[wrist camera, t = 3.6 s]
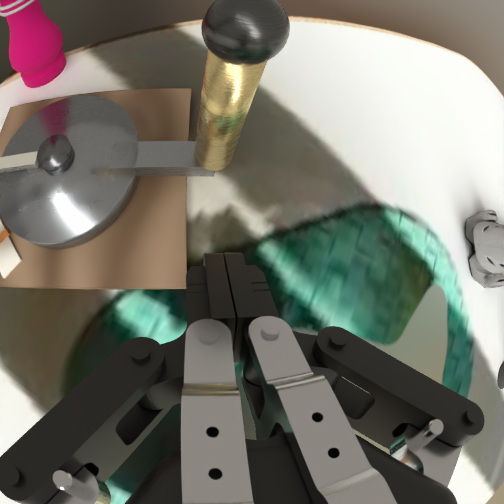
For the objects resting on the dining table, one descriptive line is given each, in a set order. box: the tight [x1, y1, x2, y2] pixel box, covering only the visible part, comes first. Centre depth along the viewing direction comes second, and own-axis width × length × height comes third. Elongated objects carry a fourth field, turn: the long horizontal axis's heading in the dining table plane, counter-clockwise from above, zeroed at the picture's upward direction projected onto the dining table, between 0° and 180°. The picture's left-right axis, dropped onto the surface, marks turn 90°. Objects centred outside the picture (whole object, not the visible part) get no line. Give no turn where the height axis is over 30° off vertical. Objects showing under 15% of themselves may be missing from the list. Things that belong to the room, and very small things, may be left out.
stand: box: [0, 88, 191, 289], centre depth 23 cm, size 22×20×2 cm
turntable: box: [0, 0, 290, 250], centre depth 15 cm, size 24×14×17 cm, turn 93°
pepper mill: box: [0, 0, 66, 88], centre depth 16 cm, size 7×7×20 cm
